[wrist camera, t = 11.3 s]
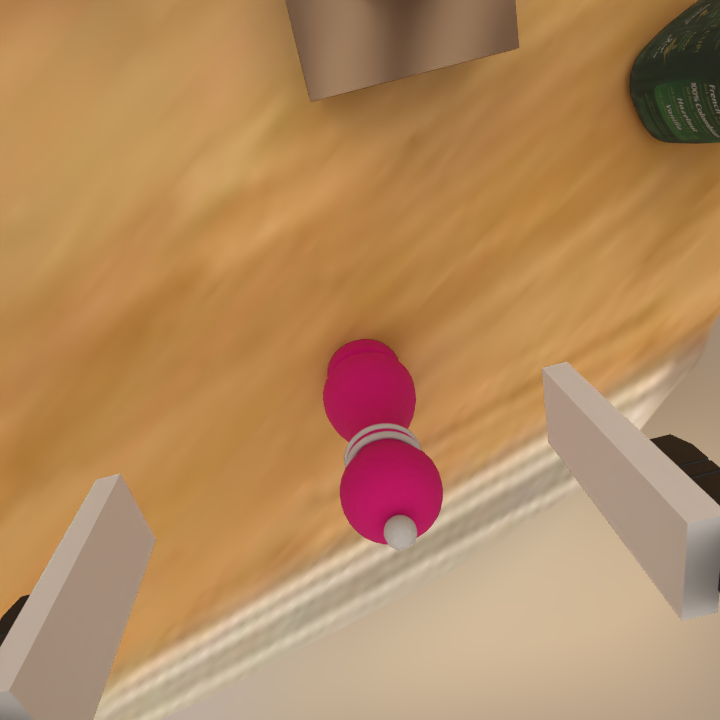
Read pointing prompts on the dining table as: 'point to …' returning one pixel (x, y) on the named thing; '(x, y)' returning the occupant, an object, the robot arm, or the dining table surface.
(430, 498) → the pepper mill
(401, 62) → the lid
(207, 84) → the dining table surface
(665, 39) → the coffee jar
